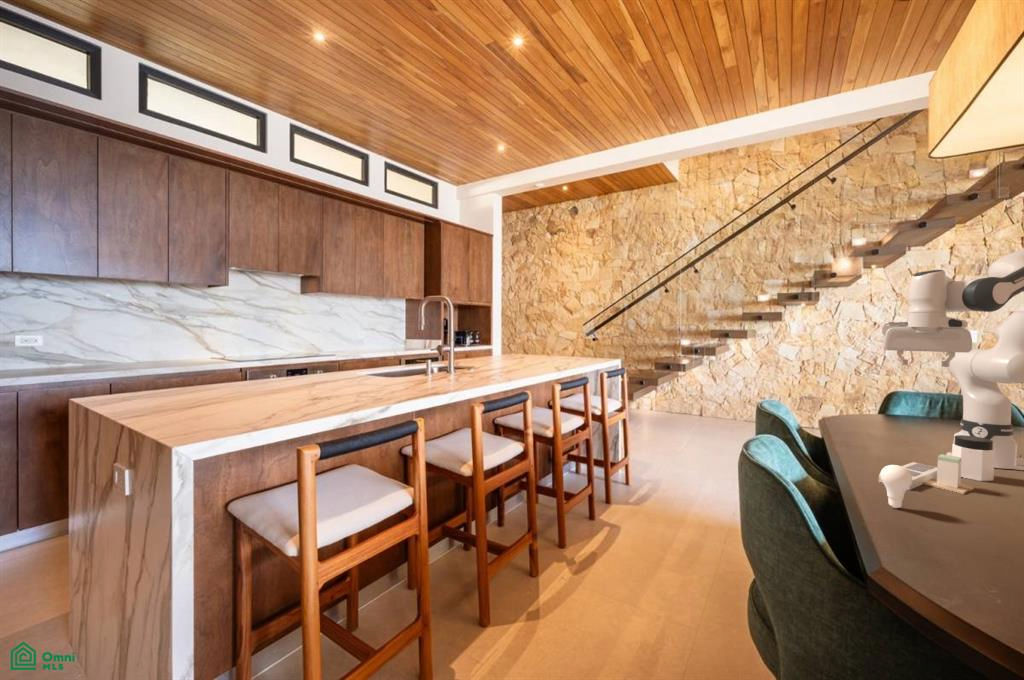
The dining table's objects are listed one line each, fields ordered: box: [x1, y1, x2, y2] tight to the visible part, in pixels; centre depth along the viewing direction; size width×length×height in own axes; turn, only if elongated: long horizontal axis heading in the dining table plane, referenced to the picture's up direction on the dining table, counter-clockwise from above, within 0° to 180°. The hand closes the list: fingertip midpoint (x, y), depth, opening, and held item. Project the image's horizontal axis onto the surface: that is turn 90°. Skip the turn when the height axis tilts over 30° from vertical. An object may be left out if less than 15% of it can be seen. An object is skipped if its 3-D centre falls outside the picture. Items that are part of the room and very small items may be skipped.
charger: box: [936, 453, 962, 488], centre depth 125 cm, size 4×4×8 cm
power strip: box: [878, 461, 938, 491], centre depth 132 cm, size 29×7×3 cm, turn 119°
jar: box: [951, 435, 995, 482], centre depth 133 cm, size 9×8×12 cm
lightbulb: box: [879, 464, 912, 509], centre depth 109 cm, size 6×6×11 cm
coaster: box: [922, 477, 976, 495], centre depth 125 cm, size 9×9×1 cm
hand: (924, 365), depth 135 cm, fingers open, 8 cm apart
